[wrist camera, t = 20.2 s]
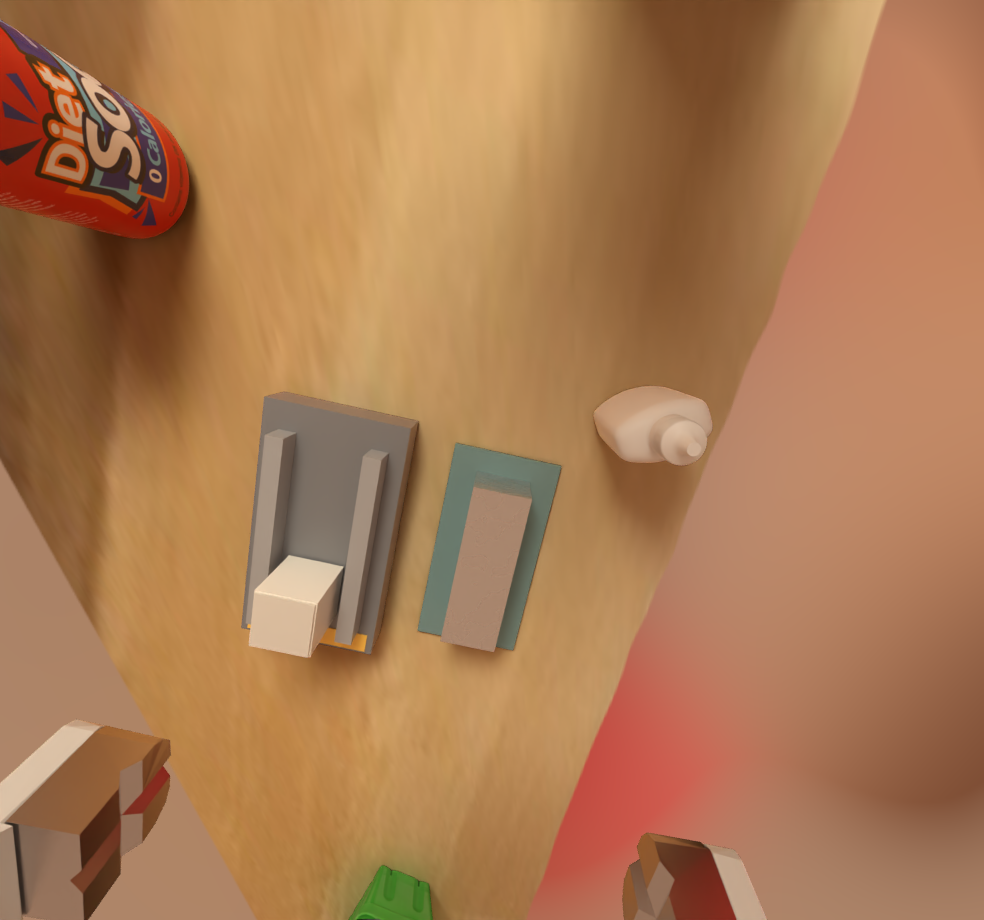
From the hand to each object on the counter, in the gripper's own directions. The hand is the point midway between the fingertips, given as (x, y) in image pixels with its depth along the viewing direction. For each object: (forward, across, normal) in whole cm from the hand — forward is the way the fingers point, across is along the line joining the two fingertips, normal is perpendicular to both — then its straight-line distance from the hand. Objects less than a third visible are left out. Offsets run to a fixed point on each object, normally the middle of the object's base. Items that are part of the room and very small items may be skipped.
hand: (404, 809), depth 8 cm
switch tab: (+25, +10, +13) cm, 30 cm away
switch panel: (+28, +10, +9) cm, 31 cm away
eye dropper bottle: (+29, -10, -4) cm, 31 cm away
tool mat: (+28, -2, +10) cm, 30 cm away
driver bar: (+28, -2, +9) cm, 30 cm away
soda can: (+29, +26, -12) cm, 41 cm away
